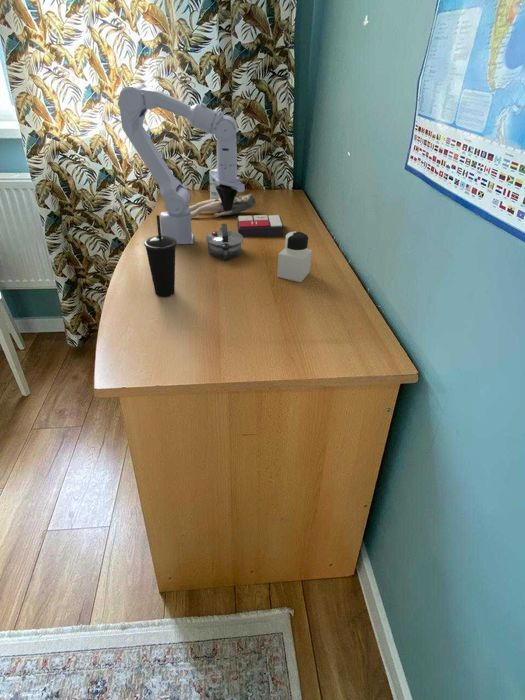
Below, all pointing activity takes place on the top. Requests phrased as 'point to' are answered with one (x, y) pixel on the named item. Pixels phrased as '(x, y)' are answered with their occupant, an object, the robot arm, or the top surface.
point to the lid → (224, 238)
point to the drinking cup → (162, 262)
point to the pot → (224, 251)
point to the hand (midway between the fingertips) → (227, 210)
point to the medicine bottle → (295, 257)
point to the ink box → (213, 186)
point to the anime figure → (216, 205)
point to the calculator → (260, 225)
